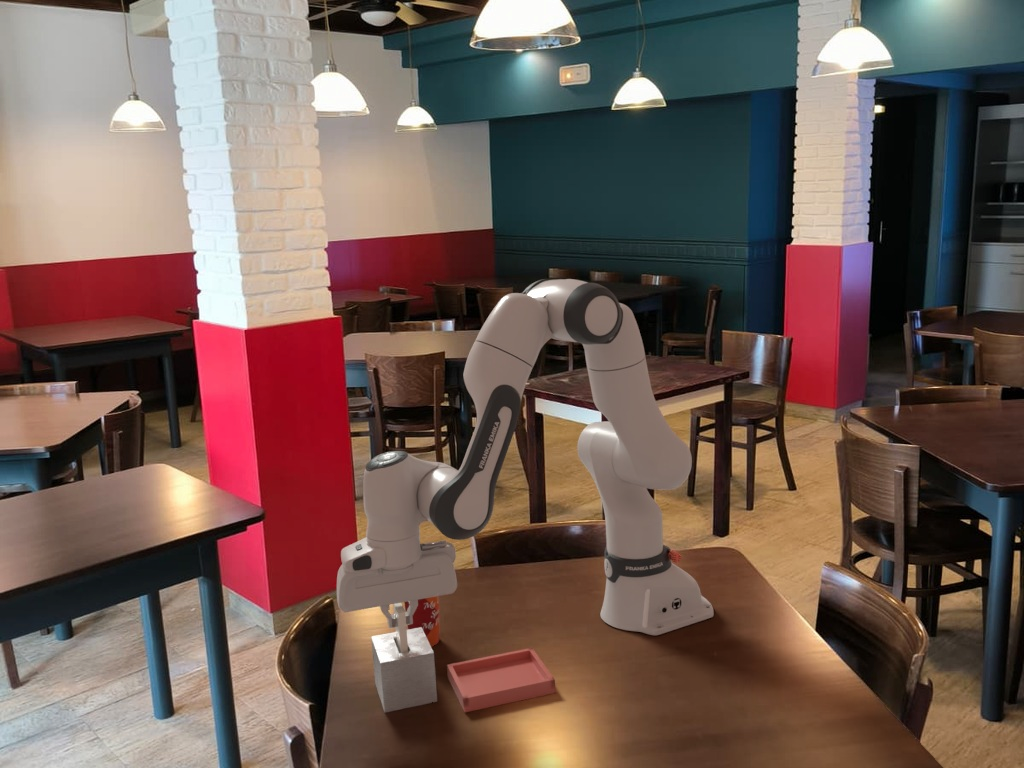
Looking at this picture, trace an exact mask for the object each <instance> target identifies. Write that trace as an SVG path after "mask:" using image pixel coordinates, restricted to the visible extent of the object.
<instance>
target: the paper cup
mask: <svg viewBox="0 0 1024 768" xmlns="http://www.w3.org/2000/svg"><path fill="white" fill-rule="evenodd" d="M403 603H404V610H405V612H407V609H408V607H409V605H410V604H409V602H408V601H407V602H403ZM412 617H413V624H410V625H407V630H409V629H414V628H420V627H422V629H423V631H424V633H425V635H426V637H427V639H428V642H429V644H430V646H431V648H432V647H434V645H435V646H436V645H437V644H438V643H439V641H440V596H436V597H430V598H424V599H419V600H418V606H417V608H416V610H415V612H414V614H413V615H412Z"/></svg>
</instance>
